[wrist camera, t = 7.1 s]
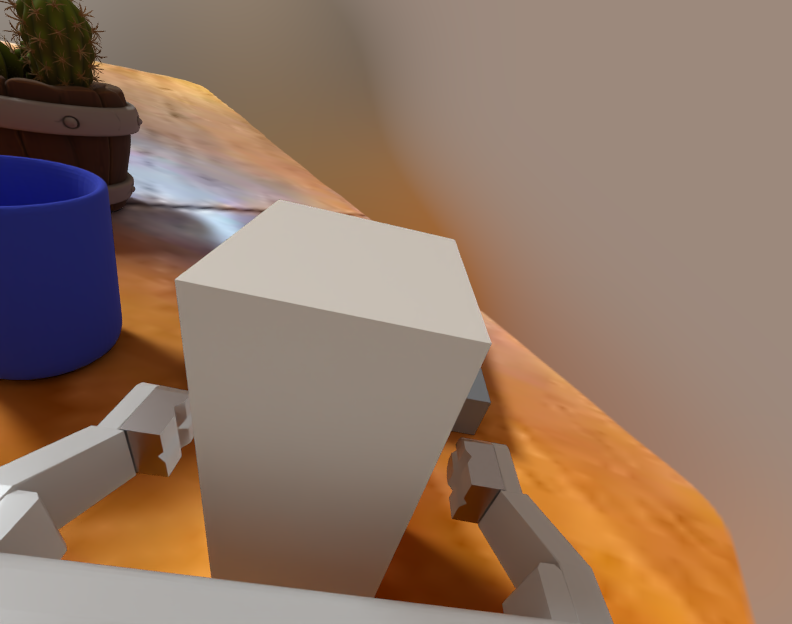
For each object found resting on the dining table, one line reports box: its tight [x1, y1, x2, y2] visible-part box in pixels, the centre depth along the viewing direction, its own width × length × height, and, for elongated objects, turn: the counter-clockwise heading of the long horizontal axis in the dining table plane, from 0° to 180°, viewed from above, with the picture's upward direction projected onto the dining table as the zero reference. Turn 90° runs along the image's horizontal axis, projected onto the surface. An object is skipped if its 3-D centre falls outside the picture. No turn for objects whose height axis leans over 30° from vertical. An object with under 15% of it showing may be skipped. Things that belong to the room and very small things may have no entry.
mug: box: [0, 155, 122, 380], centre depth 19 cm, size 8×12×10 cm
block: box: [175, 199, 492, 598], centre depth 11 cm, size 5×5×14 cm
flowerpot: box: [0, 0, 142, 211], centre depth 32 cm, size 14×15×20 cm
